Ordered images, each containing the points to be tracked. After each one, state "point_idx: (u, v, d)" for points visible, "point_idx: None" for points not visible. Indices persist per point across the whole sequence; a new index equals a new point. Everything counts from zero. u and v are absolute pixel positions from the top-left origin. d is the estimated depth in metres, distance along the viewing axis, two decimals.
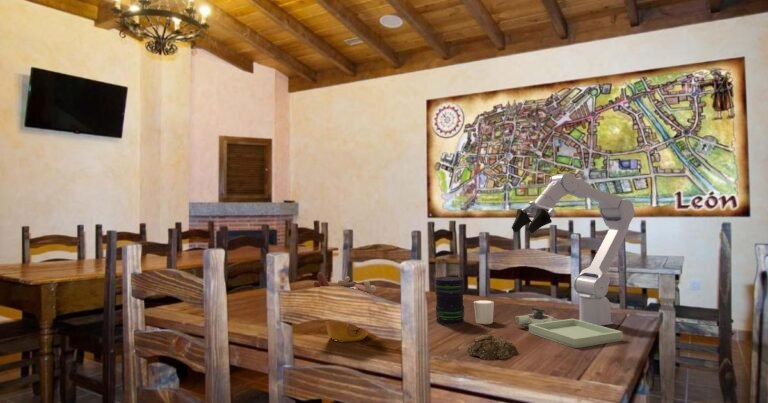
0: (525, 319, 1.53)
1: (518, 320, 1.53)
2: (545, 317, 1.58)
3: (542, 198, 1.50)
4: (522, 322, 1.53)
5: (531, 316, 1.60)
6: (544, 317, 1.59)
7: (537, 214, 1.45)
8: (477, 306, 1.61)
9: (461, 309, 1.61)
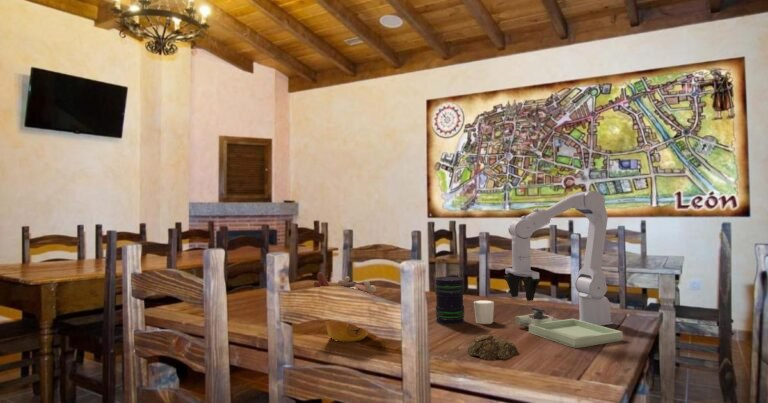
0: (525, 319, 1.53)
1: (518, 320, 1.53)
2: (545, 317, 1.58)
3: (517, 262, 1.52)
4: (522, 322, 1.53)
5: (531, 316, 1.60)
6: (544, 317, 1.59)
7: (526, 285, 1.49)
8: (477, 306, 1.61)
9: (461, 309, 1.61)
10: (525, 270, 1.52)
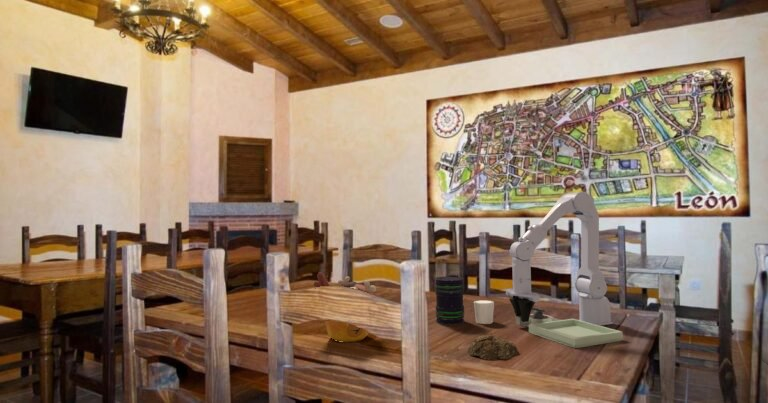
0: None
1: (518, 320, 1.53)
2: (545, 317, 1.58)
3: (518, 284, 1.52)
4: (522, 322, 1.53)
5: (531, 316, 1.60)
6: (544, 317, 1.59)
7: (521, 306, 1.52)
8: (477, 306, 1.61)
9: (461, 309, 1.61)
10: (526, 292, 1.52)
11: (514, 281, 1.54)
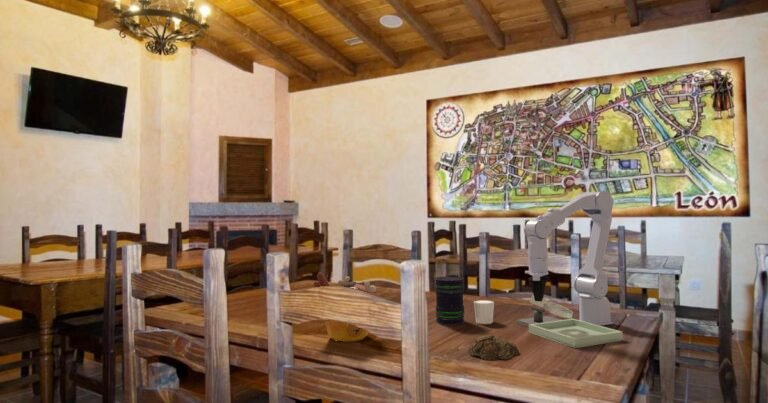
0: None
1: (531, 298, 1.51)
2: None
3: (529, 262, 1.51)
4: (534, 301, 1.50)
5: (558, 306, 1.51)
6: None
7: (531, 285, 1.50)
8: (477, 306, 1.61)
9: (461, 309, 1.61)
10: (535, 271, 1.49)
11: None
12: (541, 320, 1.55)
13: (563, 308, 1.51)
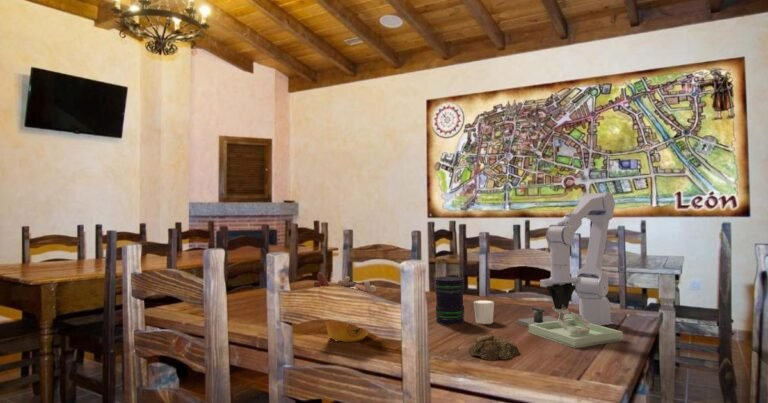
0: None
1: None
2: None
3: None
4: (555, 308, 1.48)
5: (582, 320, 1.44)
6: None
7: None
8: (477, 306, 1.61)
9: (461, 309, 1.61)
10: (552, 278, 1.47)
11: None
12: (541, 320, 1.55)
13: (585, 323, 1.42)
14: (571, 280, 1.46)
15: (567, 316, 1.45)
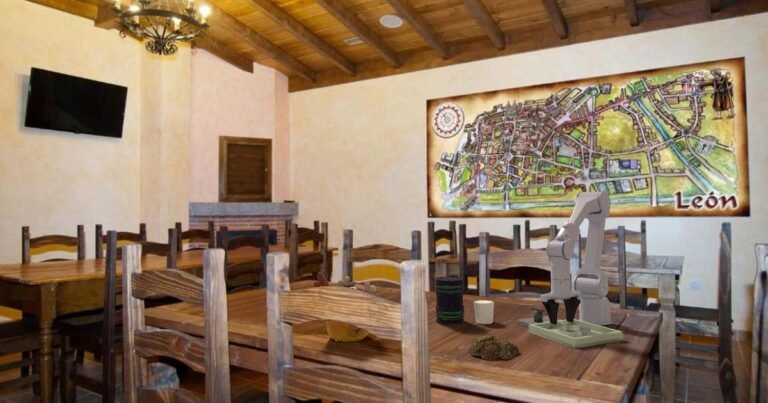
0: (557, 324, 1.47)
1: None
2: None
3: None
4: (554, 326, 1.48)
5: (582, 329, 1.43)
6: None
7: None
8: (477, 306, 1.61)
9: (461, 309, 1.61)
10: (552, 292, 1.47)
11: None
12: (541, 320, 1.55)
13: (586, 329, 1.42)
14: (571, 295, 1.45)
15: (567, 329, 1.45)
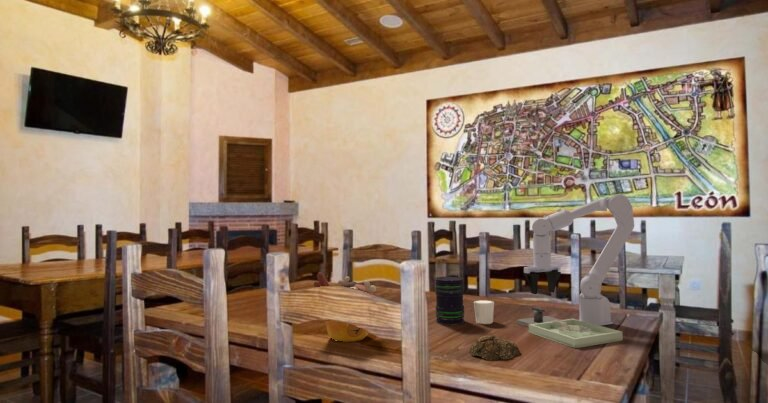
0: (557, 324, 1.47)
1: None
2: None
3: None
4: (554, 326, 1.48)
5: (582, 329, 1.43)
6: None
7: None
8: (477, 306, 1.61)
9: (461, 309, 1.61)
10: (534, 265, 1.64)
11: None
12: (541, 320, 1.55)
13: (586, 329, 1.42)
14: (551, 267, 1.62)
15: (567, 329, 1.45)
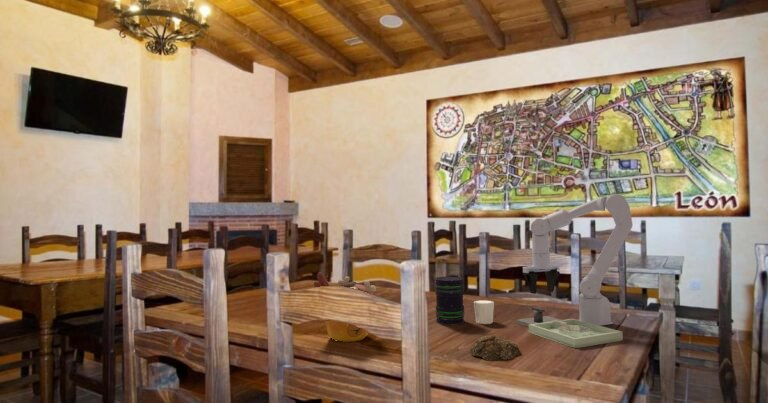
0: (557, 324, 1.47)
1: None
2: None
3: None
4: (554, 326, 1.48)
5: (582, 329, 1.43)
6: None
7: None
8: (477, 306, 1.61)
9: (461, 309, 1.61)
10: (533, 265, 1.65)
11: None
12: (541, 320, 1.55)
13: (586, 329, 1.42)
14: (550, 267, 1.64)
15: (567, 329, 1.45)
